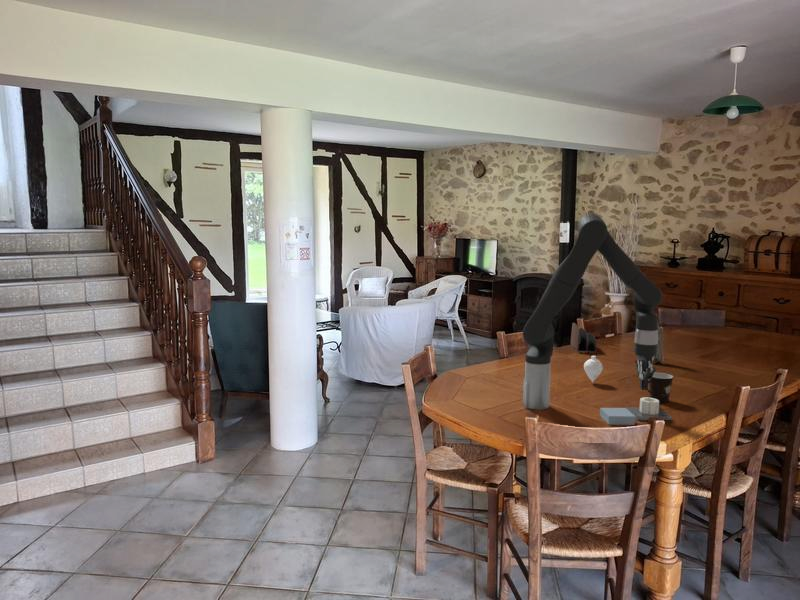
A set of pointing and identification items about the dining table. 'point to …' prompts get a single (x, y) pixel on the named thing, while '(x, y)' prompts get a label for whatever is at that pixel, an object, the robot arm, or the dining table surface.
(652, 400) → the collar ring
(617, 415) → the stand block
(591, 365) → the spinning top
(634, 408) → the hub
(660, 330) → the wizard figurine
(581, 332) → the letter holder
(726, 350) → the dining table surface
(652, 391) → the coffee mug
